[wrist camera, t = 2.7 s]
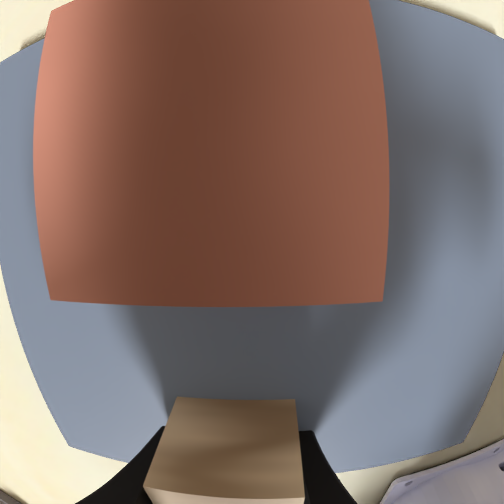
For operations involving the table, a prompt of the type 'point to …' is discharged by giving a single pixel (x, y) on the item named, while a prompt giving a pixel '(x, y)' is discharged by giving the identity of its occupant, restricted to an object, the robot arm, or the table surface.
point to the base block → (212, 153)
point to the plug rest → (7, 499)
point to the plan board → (312, 316)
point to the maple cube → (228, 454)
